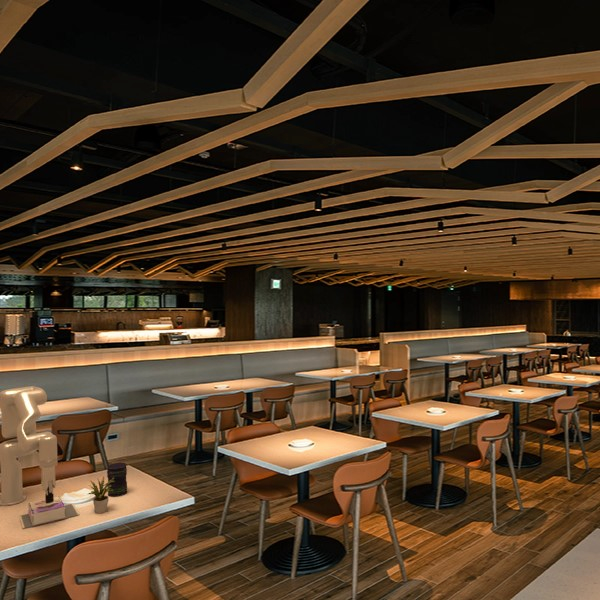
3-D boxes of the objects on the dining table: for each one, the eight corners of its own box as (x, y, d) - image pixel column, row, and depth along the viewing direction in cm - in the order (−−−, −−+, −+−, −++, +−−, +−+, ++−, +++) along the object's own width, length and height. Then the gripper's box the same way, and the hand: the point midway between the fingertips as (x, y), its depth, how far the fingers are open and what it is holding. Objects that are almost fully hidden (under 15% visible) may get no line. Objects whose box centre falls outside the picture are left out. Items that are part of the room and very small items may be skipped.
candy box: (32, 513, 228) (27, 502, 242) (32, 526, 228) (27, 514, 242) (65, 505, 236) (58, 495, 250) (65, 518, 236) (59, 507, 250)
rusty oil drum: (130, 490, 272) (129, 462, 272) (122, 497, 262) (121, 468, 262) (112, 490, 272) (112, 462, 273) (104, 497, 263) (103, 468, 263)
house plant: (120, 513, 241) (119, 479, 241) (89, 520, 234) (88, 485, 234) (115, 503, 253) (114, 471, 254) (85, 509, 247) (84, 476, 247)
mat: (19, 516, 241) (19, 515, 241) (73, 504, 254) (73, 503, 254) (22, 529, 227) (22, 528, 227) (79, 515, 240) (79, 514, 240)
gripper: (37, 460, 236) (38, 499, 235) (41, 468, 223) (42, 509, 223) (54, 457, 240) (56, 495, 240) (60, 465, 227) (61, 505, 227)
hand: (49, 502), depth 231 cm, fingers closed
